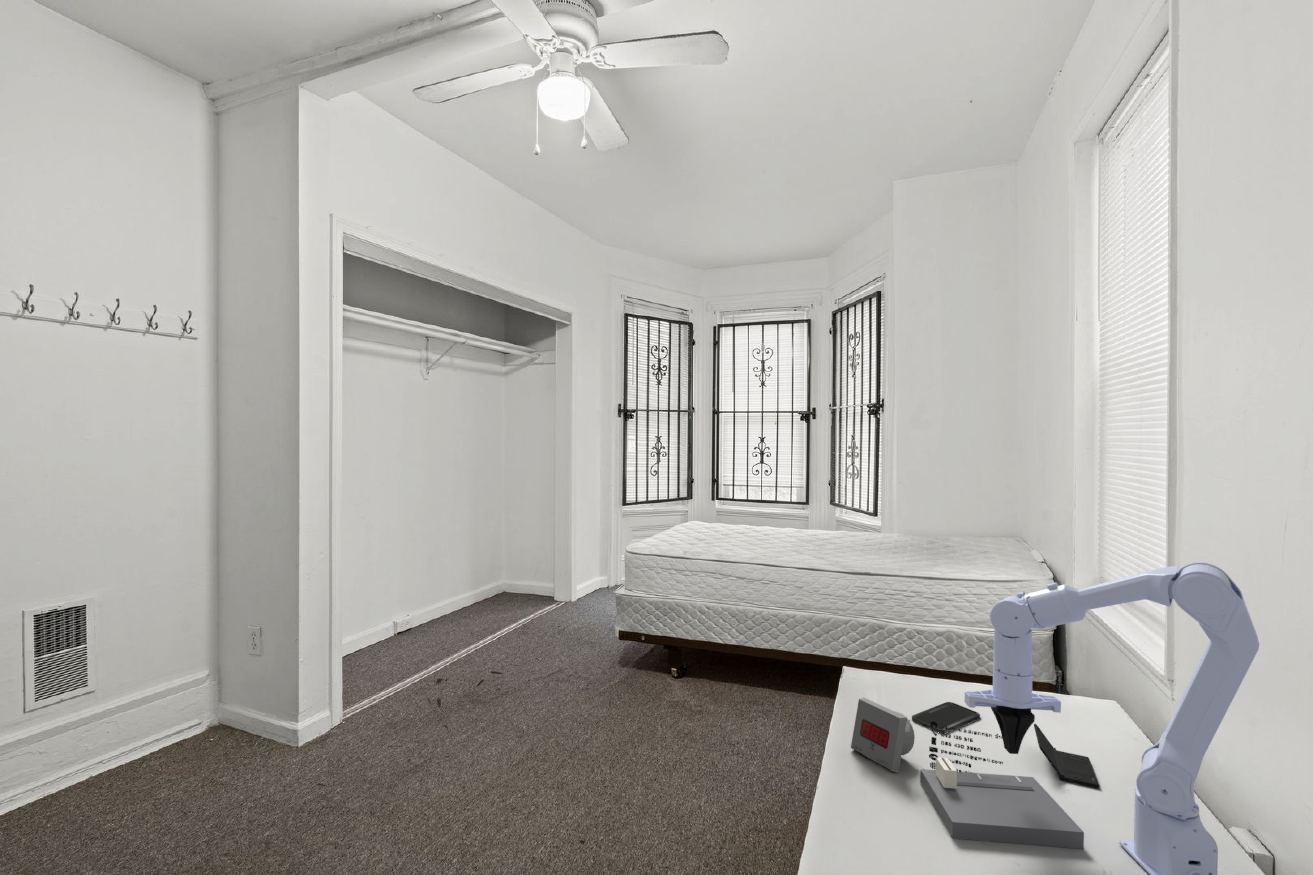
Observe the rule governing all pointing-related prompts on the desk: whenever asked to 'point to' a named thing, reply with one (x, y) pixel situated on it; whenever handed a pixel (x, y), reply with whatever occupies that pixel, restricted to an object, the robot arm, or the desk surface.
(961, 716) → the square ic package
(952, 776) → the fader knob
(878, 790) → the desk surface
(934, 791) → the grey slotted plate
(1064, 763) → the handheld gaming console
